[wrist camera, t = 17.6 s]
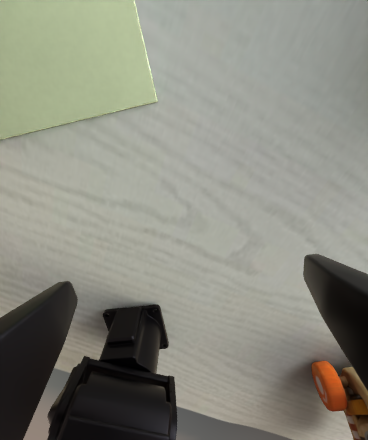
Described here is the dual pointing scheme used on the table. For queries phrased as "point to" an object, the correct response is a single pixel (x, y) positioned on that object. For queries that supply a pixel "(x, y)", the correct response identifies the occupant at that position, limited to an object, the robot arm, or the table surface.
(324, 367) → the toy helicopter
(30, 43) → the mat
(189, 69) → the table surface
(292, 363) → the table surface
